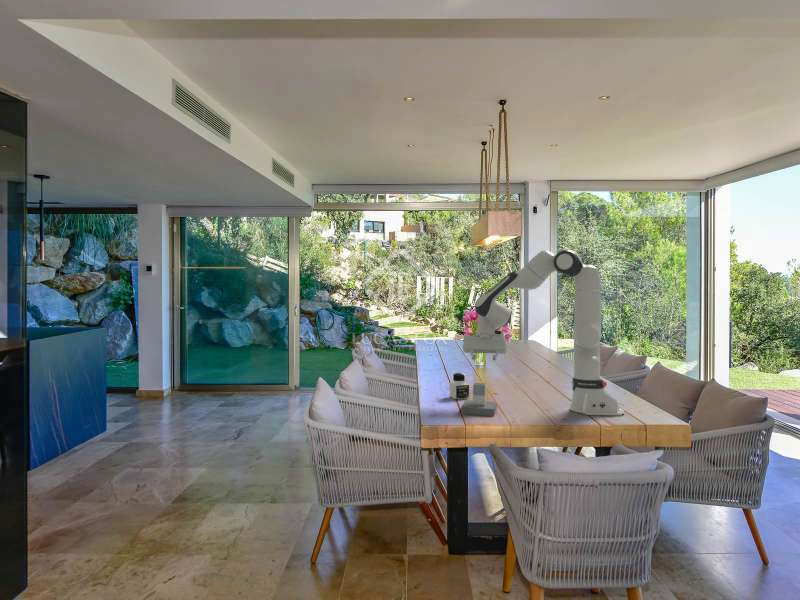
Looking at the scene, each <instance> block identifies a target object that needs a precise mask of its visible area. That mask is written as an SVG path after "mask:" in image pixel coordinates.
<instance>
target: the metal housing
mask: <svg viewBox="0 0 800 600" xmlns="http://www.w3.org/2000/svg"><path fill="white" fill-rule="evenodd" d="M472 386H473V387H472V392H473V393H472V394H473V395H472V398H473V399H472V401H473V406H485V405H486V402H487V398H486V397H487V383H486V382H474V383H473V385H472Z"/></svg>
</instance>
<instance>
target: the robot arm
mask: <svg viewBox="0 0 800 600" xmlns="http://www.w3.org/2000/svg"><path fill="white" fill-rule="evenodd" d="M555 272H558V273H559V274H562V275H564V276H567V277H572V278H573V281H574V289H573V290H574V297H573V299H574V301H573V302H574V304H573V310H574V311H573V318H574V319H573V321H574V322H573V330H574V331H573V377H572V379H571V380H572V381H571V384H572V385H571V386H572V387H571V389H572V396H571V402H570V405H569V410H570V411H572V412H575V413H579V414H583V415H587V416H623V415H622V414H624V415H625V410H624V409H623V408H622V407H620V406H619V405H620V404H619V401H618V398H617V397H616V395H614V394H613V393H612V392H611V391H609V390H608V389H607V388H606V387H607V385H608V382H607V381H605V380H603V379H601V339H602V283H601V276H600V275H601V274H600V271H599V269H598V267H596V266H595V265H591V264H585V263H584V261H583V258H582V256H581V255H580V254H579V253H578V252H577V251H576V250H575V251H574V250H572V249H562V250H560V251H558V252H557V253H556V254H554V253H553V252H552V251H548V250H541V251H539V252H538V253H537V254H535V256H533V257H532V258H531V259H530V260H529V261H528V262H527V263H526V265H525V266H524V267H522V268H520V269H519V270H517V271H511V272H510V273H508V274H507V275H505V276H504V277H503V278H501V280H499V282H497V283H496V284H495V285H494V286H493V287H491V288H490V289H489V290H488V291H487V292H485V293H484V294H482V295H481V296H479V297H478V298H477V299H476V300H475V302H474V310H475V313H476V314H477V315H478V316H477V328H476V334H475V335H465V336H464V337H463V339H462V341H463V344H462V351H463V353H466V354H469V355H470V356H471V360H472V361H475V360H476V354H493V355H492V361H497V358H498V357H499V356H500V355H501V354H502V355H503V354H507V352H508V346H507V340H506V337H505V332H504V331H503V330H498V329H501V328H504V327H506V326H507V325H509V324H510V322H511V319H512V310H511V309H510V308H509V307H507V306H506V305H504V304H502V303H501V302H500V301H497V299H498V298H499V297H501V296H502V295H503V294H504V293H505V292H507V291H508V290H509V289H513V288H517V289H522V290H528V291H532V290H537V289H538V288H540V287H541V286H542V284H544V282H545V281H546V280H547V279H548V278H549V277H550V276H551V274H553V273H555Z"/></svg>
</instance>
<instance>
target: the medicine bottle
mask: <svg viewBox="0 0 800 600" xmlns="http://www.w3.org/2000/svg"><path fill="white" fill-rule="evenodd" d="M466 376H467V374H465V373H463V372H455V373H453V375H452V382H449V397H450V398H451V397H452V398H451V399H454V400H456V399H459V400H467V399H468V398H469V399H470V384H469V383H466V380H467V379H466Z"/></svg>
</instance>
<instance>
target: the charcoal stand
mask: <svg viewBox="0 0 800 600" xmlns="http://www.w3.org/2000/svg"><path fill="white" fill-rule="evenodd" d="M497 407H498V403H497V401H486V405H485V406H473V400H467V399H464V402H463V404H462V405H461V407H460V414H461V415H467V414H471V415H470V416H483V415H484V416H485V417H486V416H488V417H495V416H494V415H496V412H497V410H496V409H497ZM484 416H483V417H484Z"/></svg>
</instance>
